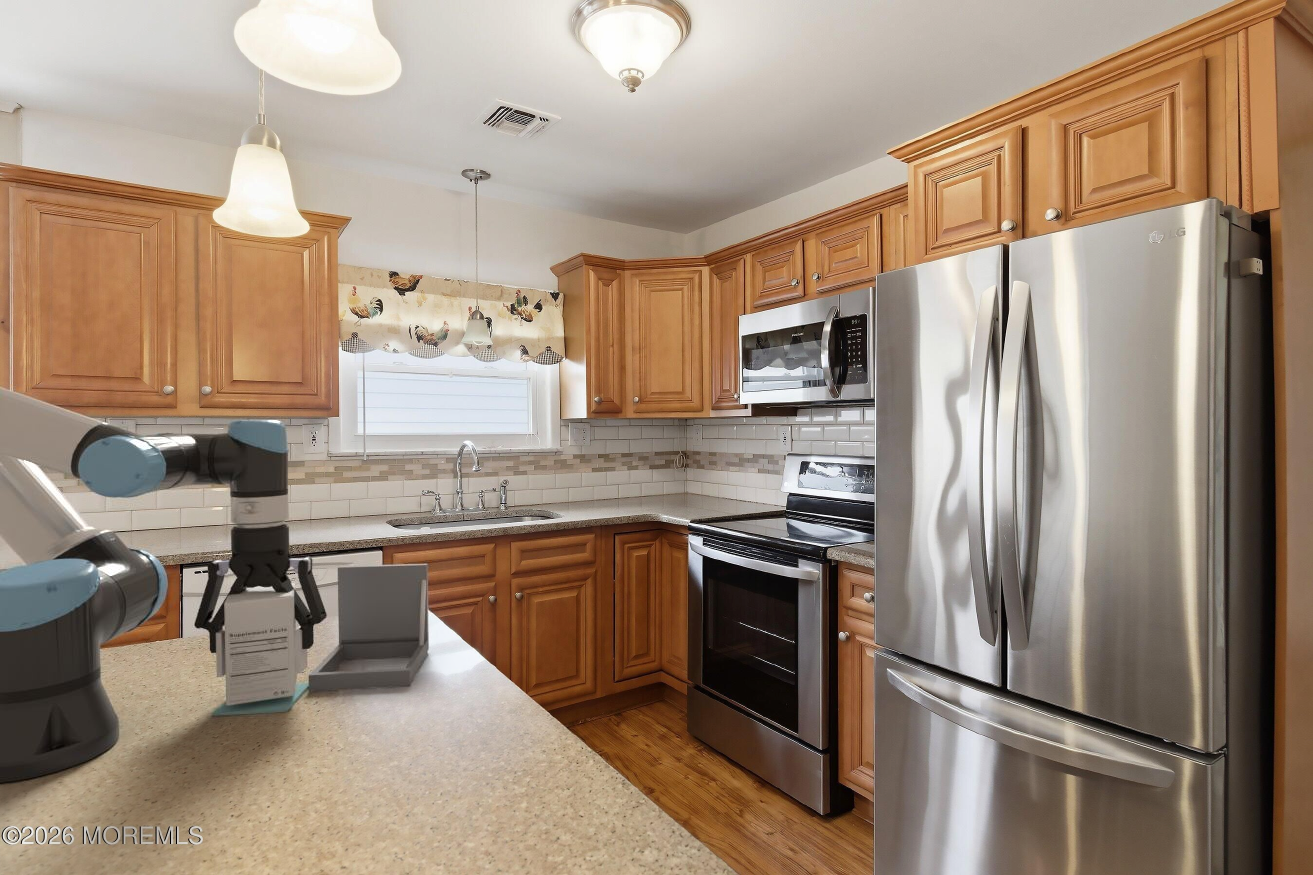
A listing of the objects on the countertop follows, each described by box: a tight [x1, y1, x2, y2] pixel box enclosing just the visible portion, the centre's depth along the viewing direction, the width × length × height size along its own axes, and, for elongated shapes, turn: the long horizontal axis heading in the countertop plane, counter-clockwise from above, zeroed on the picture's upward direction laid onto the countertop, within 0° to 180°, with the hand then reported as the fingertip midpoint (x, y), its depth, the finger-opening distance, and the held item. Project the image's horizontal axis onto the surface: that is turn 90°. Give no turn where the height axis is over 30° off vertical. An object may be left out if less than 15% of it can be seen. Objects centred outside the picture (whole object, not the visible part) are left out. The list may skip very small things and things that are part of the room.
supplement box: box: [224, 582, 298, 706], centre depth 105 cm, size 9×9×15 cm
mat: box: [211, 682, 309, 717], centre depth 105 cm, size 10×10×1 cm
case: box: [308, 563, 430, 692], centre depth 117 cm, size 15×16×16 cm
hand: (262, 671), depth 105 cm, fingers closed on supplement box, 10 cm apart
